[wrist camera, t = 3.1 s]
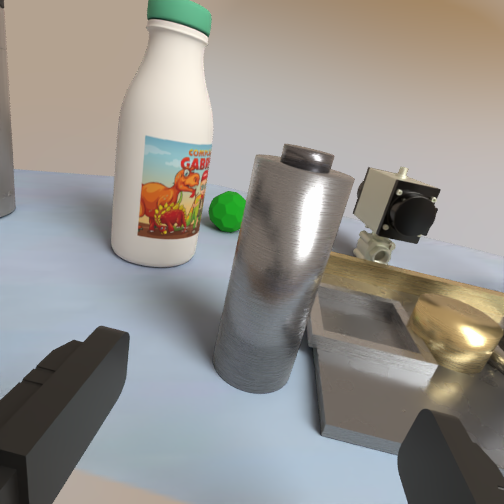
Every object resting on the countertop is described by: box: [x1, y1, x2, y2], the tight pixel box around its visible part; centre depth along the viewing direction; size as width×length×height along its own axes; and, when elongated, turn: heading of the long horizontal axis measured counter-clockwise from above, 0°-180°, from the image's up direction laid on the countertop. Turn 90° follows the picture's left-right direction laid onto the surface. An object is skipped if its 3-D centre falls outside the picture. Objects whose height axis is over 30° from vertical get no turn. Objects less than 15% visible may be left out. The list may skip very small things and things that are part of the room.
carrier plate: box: [307, 251, 504, 477], centre depth 23 cm, size 21×20×14 cm
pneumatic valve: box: [353, 167, 440, 265], centre depth 40 cm, size 6×12×12 cm, turn 2°
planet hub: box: [213, 144, 355, 394], centre depth 18 cm, size 5×5×13 cm
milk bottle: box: [111, 0, 213, 267], centre depth 28 cm, size 8×8×20 cm
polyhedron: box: [209, 191, 246, 232], centre depth 41 cm, size 5×5×5 cm
